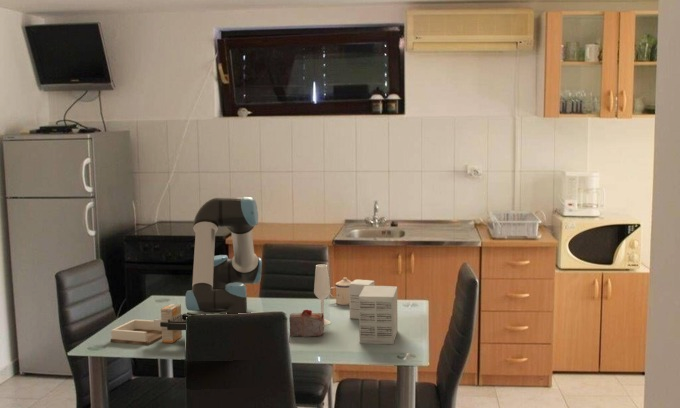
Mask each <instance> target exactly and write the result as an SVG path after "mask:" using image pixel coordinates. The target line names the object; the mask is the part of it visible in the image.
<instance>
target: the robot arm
mask: <svg viewBox="0 0 680 408" xmlns="http://www.w3.org/2000/svg"><path fill="white" fill-rule="evenodd" d="M258 224H259V212H258V206H257V201H256V199H255V198H254V197H252V196H236V197H235V196H233V197H214V198H211V199H209V200H208V201H206V202H204V204H202V205H201V207H200V208H199V209H198V211H197V213H196V215H195V217H194V220H193V232H194V233H195V236H194V239H195V240H194V254H193V269H192V285H191V286H192V287H191V288H192V289H190V290H186V293H185V299H184V300H185V301H184V302H185V308H186V310H187V311H188V312H186V313H183V314H182V313H181V321H170V319H169V320H161V319H157V318H155V319H153V321H154V327H164V328H167V330H182V331H187V330H186V317H188V316H190V315H201V313H196V312H201V311H203V312H205V313H204V314H203V315H206V314H219V312H225V310H226V314H238V313H247V314H248V302H247V301H248V298H247V297H248V295H247V286H246V285H253V284H259V283H260V282H261V279H262V269H263V268H262V266H263V261H262V258H261V257H259V256H258V255H257V254H256V253H255V248H254V237H253V229H254V228H255V226H257V225H258ZM219 227H221V228H222V227H223V228H224V227H225V228H227V229H228V231H229V232H230V233H231V241H232V248H233V254H234V255H233V257H232V258H229V256H228V255H227V254H219V255H215V249H216V248H215V247H216V246H215V245H216V244H215V243H216V233H218V231H219ZM190 311H193V312H190ZM218 311H219V312H218ZM215 312H216V313H215ZM217 312H218V313H217Z"/></svg>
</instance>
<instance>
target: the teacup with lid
mask: <svg viewBox="0 0 680 408" xmlns="http://www.w3.org/2000/svg"><path fill="white" fill-rule="evenodd" d="M351 282H353V281H351V280H350V279H348V277H342V279H341V280H339V281H337V282H336V283H335V285H334V286H330V294H329V296H330V297H331V298H334V299H335V302H336V305H341V306H349V284H350V283H351ZM334 289H335V295H333V294H332V290H334Z"/></svg>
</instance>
